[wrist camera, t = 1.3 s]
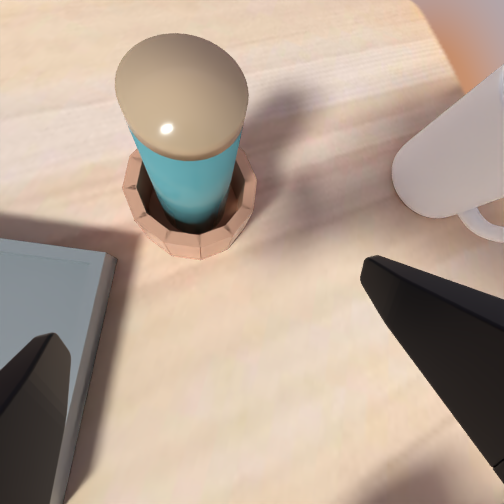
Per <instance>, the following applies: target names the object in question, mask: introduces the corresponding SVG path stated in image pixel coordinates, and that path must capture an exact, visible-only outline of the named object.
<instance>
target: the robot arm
mask: <svg viewBox="0 0 504 504" xmlns="http://www.w3.org/2000/svg"><path fill="white" fill-rule="evenodd" d="M360 281H361V284H362V286H363V287H364V289H365V291H366V292H367V294H368V296H369V298H370V299H371V301H372V303H373V304H374V306H375V308H376V309H377V311H378V313H379V314H380V316H381V318H382V319H383V321H384V322H385V324H386V325H387V327H388V328H389V329H390V331H391V332H392V333H393V335H394V336H395V338H396V339H397V340H398V342H399V343H400V344H401V346H402V347H403V348H404V350H405V351H406V352H407V354H408V355H409V356H410V358H411V359H412V360H413V362H414V363H415V364H416V366H417V367H418V369H419V370H420V371H421V373H422V374H423V375H424V377H425V378H426V379H427V381H428V382H429V383H430V385H431V386H432V387H433V389H434V390H435V391H436V393H437V394H438V395H439V397H440V398H441V400H442V401H443V402H444V404H445V405H446V406H447V408H448V409H449V410H450V412H451V413H452V414H453V416H454V417H455V418H456V420H457V421H458V422H459V424H460V425H461V427H462V428H463V429H464V431H465V432H466V433H467V435H468V436H469V437H470V439H471V440H472V441H473V443H474V444H475V445H476V447H477V448H478V449H479V451H480V452H481V453H482V455H483V456H484V458H485V459H486V460H487V462H488V463H489V464H490V466H491V467H493V470H494V471H495V473H496V474H497V475H498V477H499V478H500V479H501V481H502V482H503V483H504V299H501V298H498V297H495V296H492V295H489V294H487V293H484V292H481V291H478V290H475V289H472V288H470V287H467V286H464V285H461V284H458V283H455V282H453V281H450V280H447V279H444V278H441V277H438V276H436V275H433V274H430V273H427V272H424V271H422V270H419V269H416V268H413V267H410V266H407V265H405V264H402V263H399V262H396V261H393V260H390V259H388V258H385V257H382V256H379V255H376V256H371V257H368V258H366V259H365V260H364V263H363V267H362V272H361V276H360ZM70 370H71V354H70V351H69V350H68V348H67V347H66V345H65V344H64V343H63V341H62V340H61V338H60V337H59V336H58V334H56V333H54V332H51V333H47V334H43V335H38V336H36V337H34V338H33V339H32V340H31V341H30V342H29V343H28V344H27V345H26V346H25V347H24V348H23V349H21V350H20V351H19V352H18V353H17V354H16V355H15V356H14V357H13V358H12V359H11V360H10V361H9V362H8V363H7V364H6V365H5V366H4V367H3V368H2V369H1V370H0V504H50V501H51V496H52V491H53V486H54V480H55V475H56V470H57V465H58V460H59V455H60V450H61V445H62V440H63V435H64V430H65V424H66V417H67V408H68V395H69V383H70Z"/></svg>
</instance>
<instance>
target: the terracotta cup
mask: <svg viewBox="0 0 504 504" xmlns="http://www.w3.org/2000/svg"><path fill="white" fill-rule="evenodd" d="M256 184H257V179H256V176H255V174H254V172H253V170H252V168H251V165H250V163H249V161H248V159H247V156H246V154H245V152H244V151H243V150H242V149H241V148H239V147H238V151H237V156H236V160H235V165H234V169H233V174H232V179H231V183H230V188H229V192H228V197H227V202H226V206H225V211H224V215H223V217H222V219H221V221H220V222H219V224H218V225H217V226H216V227H215V228H213V229H212V230H210V231H208V232H206V233H202V234H188V233H184V232H181V231H179V230H178V229H176V228H175V227H174V226H172V225H171V224H170V222H169V221H168V220H167V218H166V216H165V213H164V211H163V209H162V206H161V204H160V201H159V199H158V197H157V194H156V192H155V189H154V187H153V185H152V182H151V180H150V177H149V175H148V173H147V170H146V168H145V165H144V163H143V160H142V158H141V156H140V153H139V151H138V148H137V149H136V150H135V151H134V152H133V153H132V154H131V155H130V156H129V161H128V165H127V169H126V174H125V178H124V182H123V187H122V189H123V191H124V194H125V197H126V199H127V202H128V205H129V207H130V210H131V212H132V215H133V218H134V220H135V221H136V223H137V224H138V225H139V226H140V228H141V229H142V230H143V231H144V233H145V234H146V235H147V237H148V238H149V239H150V240H152V241H153V242H154V243H156V244H157V245H158V246H160V247H161V248H162V249H164V250H165V251H166V252H167V253H169V254H170V255H171V256H177V257H184V258H191V259H198V260H202V259H205V258H207V257H210V256H212V255H215V254H217V253H220V252H223V251H225V250H227V249H228V248H229V247H230V246H231V244H232V243H233V242H234V241H235V239H236V238H237V237H238V236H239V234H240V233H241V232H242V231H243V229H244V227H245V225H246V224H247V222H248V220H249V218H250V216H251V214H252V212H253V209H254V201H255V192H256Z"/></svg>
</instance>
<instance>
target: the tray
mask: <svg viewBox="0 0 504 504" xmlns="http://www.w3.org/2000/svg"><path fill="white" fill-rule="evenodd" d="M116 262H117V258H115V257H113V256H111V255H109V254H108V253H106V252H99V251H91V250H84V249H76V248H69V247H62V246H54V245H47V244H39V243H32V242H25V241H17V240H10V239H2V238H0V370H1V369H2V368H3V367H4V366H5V365H6V364H7V363H8V362H9V361H10V360H11V359H12V358H13V357H14V356H15V355H16V354H17V353H18V352H19V351H20V350H21V349H23V348H24V347H25V346H26V345H27V344H28V343H29V342H30V341H31V340H32V339H33V338H34V337H36V336H38V335H43V334H47V333H51V332H54V333H56V334H58V336H59V337H60V338H61V340H62V341H63V343H64V344H65V345H66V347H67V348H68V350H69V351H70V354H71V370H70V383H69V395H68V408H67V417H66V424H65V430H64V435H63V440H62V445H61V450H60V455H59V460H58V465H57V470H56V475H55V480H54V486H53V491H52V496H51V501H50V504H63V501H64V496H65V492H66V487H67V483H68V478H69V474H70V469H71V465H72V460H73V456H74V451H75V447H76V442H77V438H78V433H79V429H80V424H81V420H82V415H83V411H84V406H85V402H86V397H87V393H88V388H89V384H90V379H91V375H92V370H93V366H94V361H95V357H96V352H97V348H98V343H99V339H100V334H101V330H102V325H103V321H104V316H105V312H106V307H107V303H108V298H109V294H110V289H111V285H112V280H113V276H114V271H115V267H116Z"/></svg>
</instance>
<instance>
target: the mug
mask: <svg viewBox="0 0 504 504" xmlns="http://www.w3.org/2000/svg"><path fill="white" fill-rule="evenodd" d="M392 180H393V184H394V188H395V190H396V192H397V194H398V196H399V197H400V199H401V200H402V201H403V202H404V203H405V205H407V206H408V207H409V208H410V209H411V210H413V211H414V212H416V213H418V214H420V215H422V216H425V217H429V218H445V217H450V216H453V215H456V214H457V215H458V216H459V218H460V219H461V221H462V222H463V223H464V225H465V226H466V227H467V228H468V229H469V230H471V231H472V232H473V233H475V234H476V235H478V236H480V237H482V238H485V239H488V240H491V241H495V242H502V243H504V227H502V226H497V225H493V224H491V223H489V222H488V221H487V220H486V219H485V218H484V217H483V216H482V215H481V214H480V212H479V210H478V208H477V207H478V206H481V205H484V204H487V203H490V202H492V201H495V200H498V199H501V198H503V197H504V64H503V65H501V66H500V67H499V68H498V69H497V70H495V71H494V72H493V73H492V74H490V75H489V76H488V77H487V78H486V79H484V80H483V81H482V82H481V83H479V84H478V85H477V86H476V87H474V88H473V89H472V90H471V91H470V92H468V93H467V94H466V95H464V96H463V97H462V98H461V99H460V100H458V101H457V102H456V103H455V104H453V105H452V106H451V107H450V108H448V109H447V110H446V111H445V112H444V113H442V114H441V115H440V116H439V117H437V118H436V119H435V120H434V121H432V122H431V123H430V124H429V125H427V126H426V127H425V128H424V129H423V130H421V131H420V132H419V133H418V134H416V135H415V136H414V137H413V138H412V139H410V140H409V141H408V142H407V143H406V144H405V145H404V146H402V148H401V149H400V150H399V151H398V152H397V154H396V156H395V158H394V161H393V164H392Z"/></svg>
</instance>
